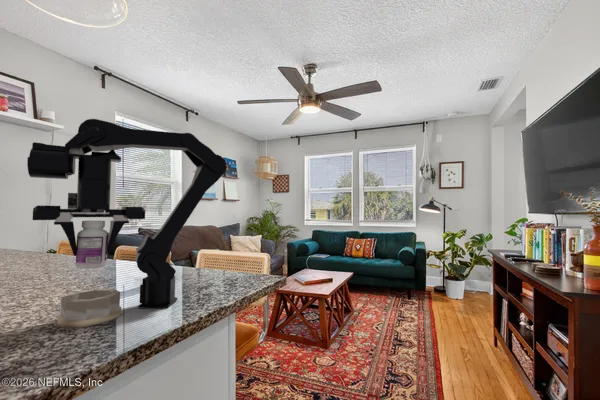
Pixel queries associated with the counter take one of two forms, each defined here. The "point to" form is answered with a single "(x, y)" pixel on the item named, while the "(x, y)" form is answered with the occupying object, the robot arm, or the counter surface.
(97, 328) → the counter surface
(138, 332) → the counter surface
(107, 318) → the socket base
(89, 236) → the pill bottle
